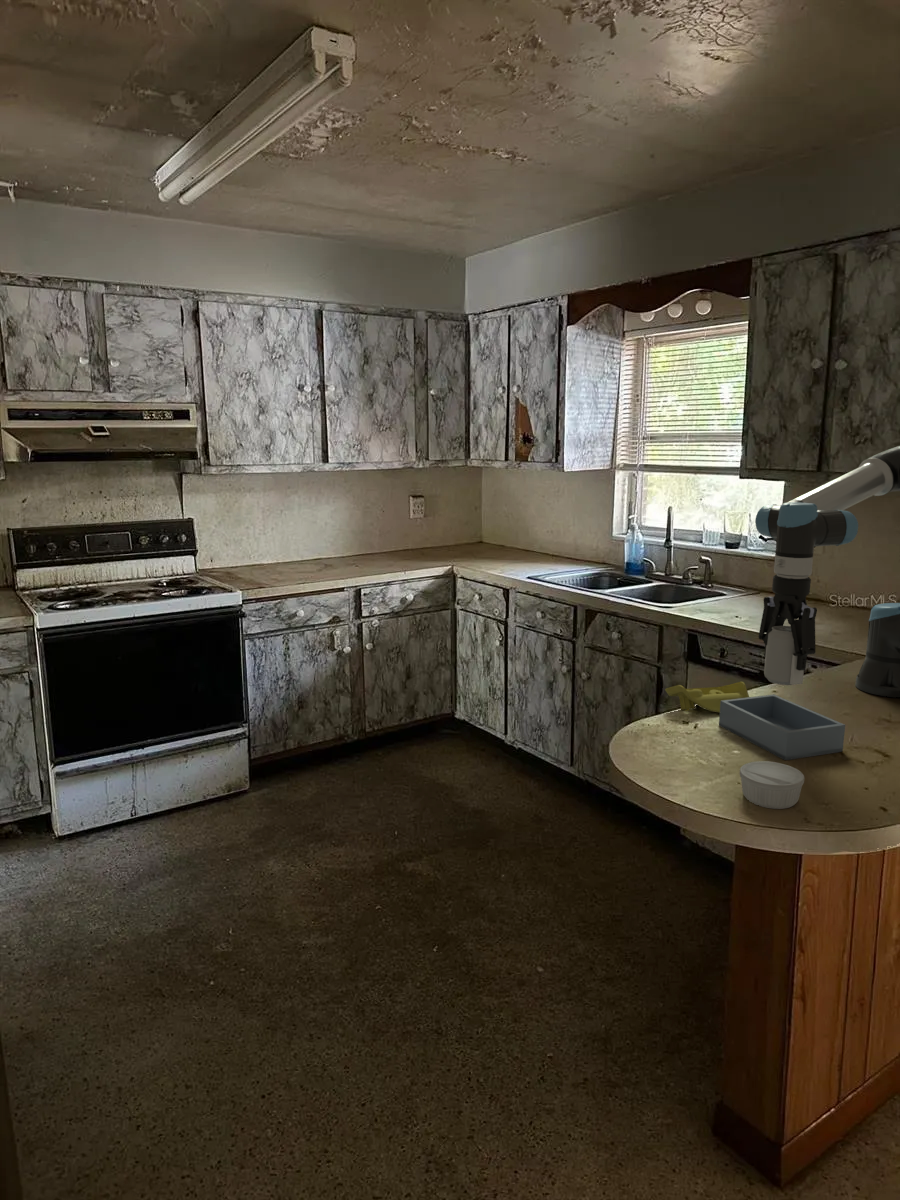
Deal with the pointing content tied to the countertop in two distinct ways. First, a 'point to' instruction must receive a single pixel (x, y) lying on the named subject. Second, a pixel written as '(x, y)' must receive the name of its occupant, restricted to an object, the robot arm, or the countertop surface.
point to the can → (779, 655)
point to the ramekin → (771, 784)
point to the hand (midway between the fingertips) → (782, 678)
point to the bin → (782, 726)
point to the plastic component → (708, 695)
